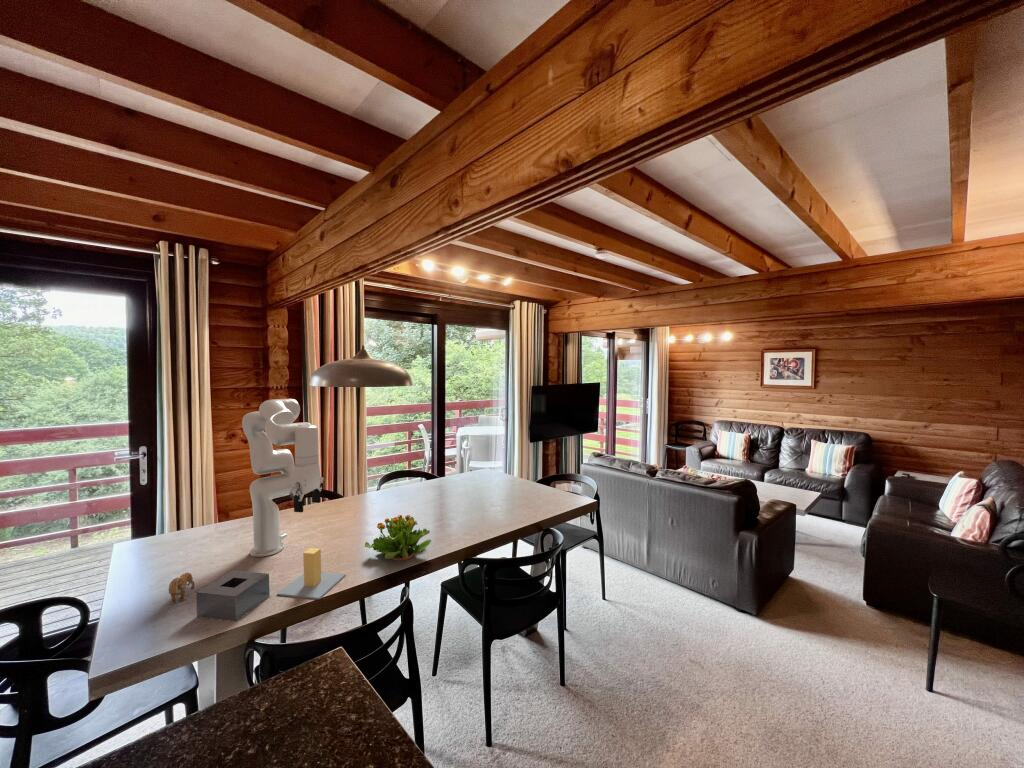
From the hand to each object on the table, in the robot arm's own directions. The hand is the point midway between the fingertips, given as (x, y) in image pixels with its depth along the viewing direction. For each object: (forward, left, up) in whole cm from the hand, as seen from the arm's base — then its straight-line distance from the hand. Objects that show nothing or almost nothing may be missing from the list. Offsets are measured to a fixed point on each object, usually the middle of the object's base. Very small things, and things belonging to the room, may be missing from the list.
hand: (307, 507), depth 147 cm
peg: (0, +2, -28) cm, 28 cm away
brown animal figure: (+14, -37, -29) cm, 49 cm away
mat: (0, +2, -28) cm, 28 cm away
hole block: (+16, -15, -28) cm, 36 cm away
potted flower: (-27, +25, -29) cm, 46 cm away
